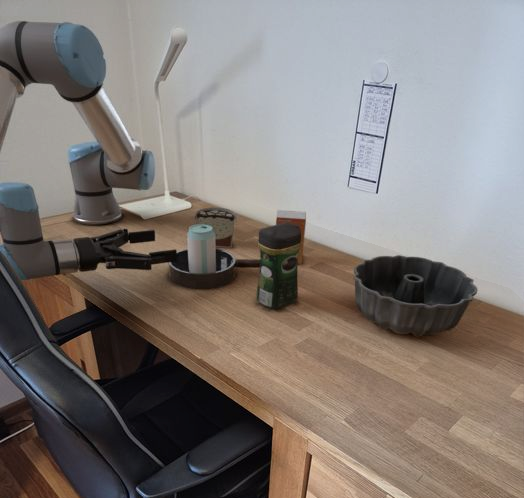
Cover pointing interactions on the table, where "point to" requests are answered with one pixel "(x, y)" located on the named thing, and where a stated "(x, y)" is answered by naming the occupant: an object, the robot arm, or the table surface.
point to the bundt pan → (412, 294)
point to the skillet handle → (247, 263)
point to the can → (201, 249)
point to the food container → (218, 224)
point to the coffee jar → (278, 265)
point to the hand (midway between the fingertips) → (165, 244)
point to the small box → (296, 219)
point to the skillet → (203, 280)
